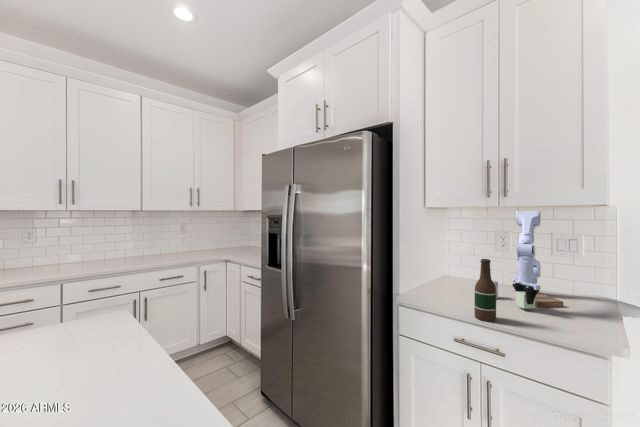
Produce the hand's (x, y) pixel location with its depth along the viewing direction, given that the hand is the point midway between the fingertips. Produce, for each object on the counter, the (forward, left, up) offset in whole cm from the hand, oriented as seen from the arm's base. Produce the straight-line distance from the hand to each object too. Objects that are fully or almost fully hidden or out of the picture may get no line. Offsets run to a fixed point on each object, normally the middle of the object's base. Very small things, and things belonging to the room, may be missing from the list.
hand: (525, 302), depth 132 cm
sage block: (0, 0, -2) cm, 2 cm away
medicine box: (-18, -6, -3) cm, 19 cm away
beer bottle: (+10, -24, -3) cm, 26 cm away
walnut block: (-8, +13, -4) cm, 16 cm away
